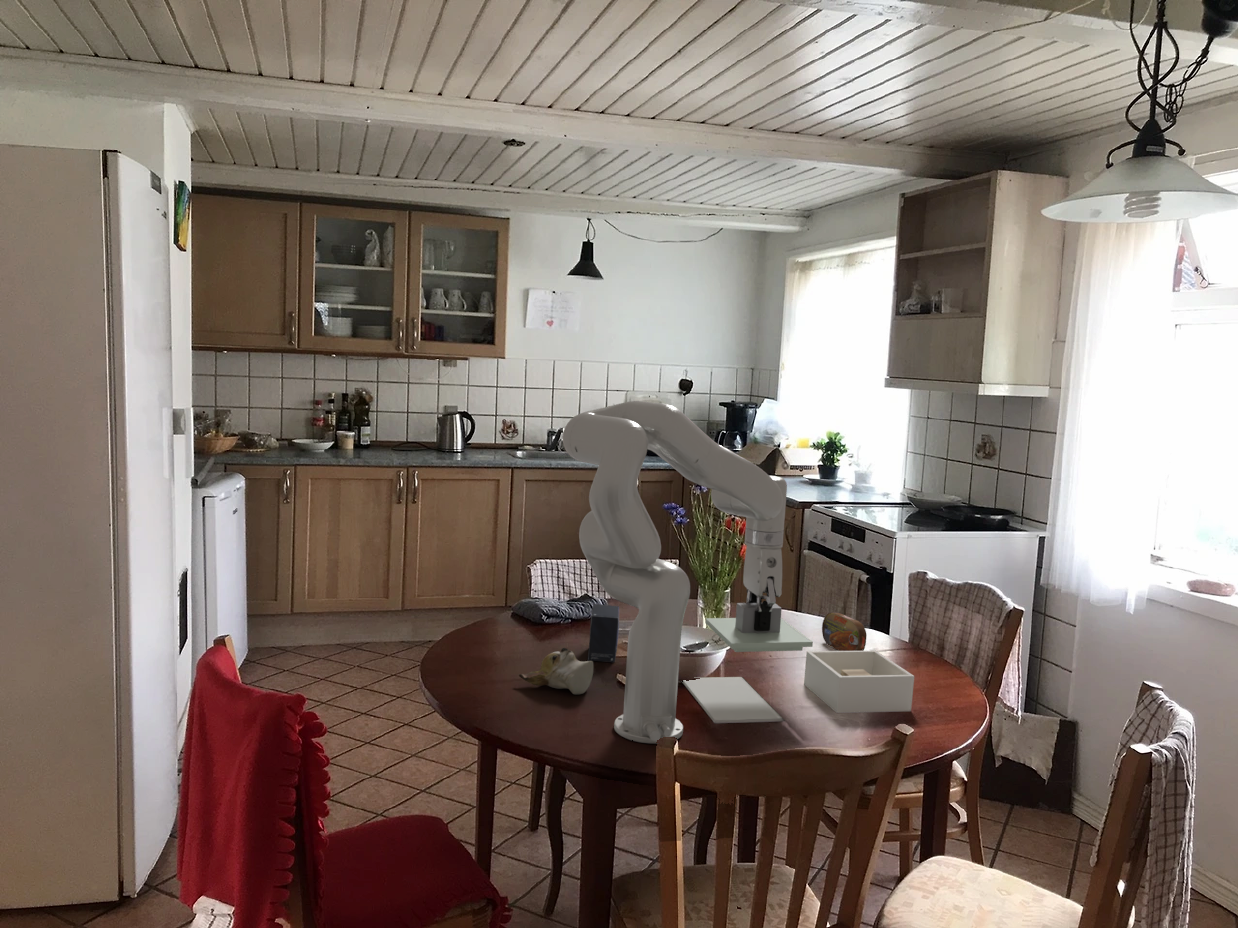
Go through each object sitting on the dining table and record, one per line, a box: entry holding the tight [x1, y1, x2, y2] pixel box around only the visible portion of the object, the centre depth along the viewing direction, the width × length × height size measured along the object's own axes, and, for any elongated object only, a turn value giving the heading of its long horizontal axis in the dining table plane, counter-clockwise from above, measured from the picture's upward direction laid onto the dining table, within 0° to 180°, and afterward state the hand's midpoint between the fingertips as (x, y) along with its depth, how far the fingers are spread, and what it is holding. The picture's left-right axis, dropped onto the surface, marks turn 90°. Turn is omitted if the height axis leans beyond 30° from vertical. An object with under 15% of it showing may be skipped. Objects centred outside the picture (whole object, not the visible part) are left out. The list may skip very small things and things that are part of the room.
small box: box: [587, 603, 620, 663], centre depth 212 cm, size 11×6×10 cm, turn 179°
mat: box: [682, 676, 786, 724], centre depth 189 cm, size 23×23×1 cm
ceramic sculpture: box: [518, 647, 594, 696], centre depth 189 cm, size 11×9×15 cm
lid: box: [704, 602, 814, 653], centre depth 188 cm, size 17×17×7 cm
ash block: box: [841, 669, 870, 676], centre depth 192 cm, size 5×5×5 cm
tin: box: [821, 611, 867, 651], centre depth 227 cm, size 15×3×8 cm, turn 22°
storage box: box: [803, 650, 915, 714], centre depth 192 cm, size 16×16×8 cm
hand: (757, 626), depth 188 cm, fingers closed on lid, 4 cm apart
